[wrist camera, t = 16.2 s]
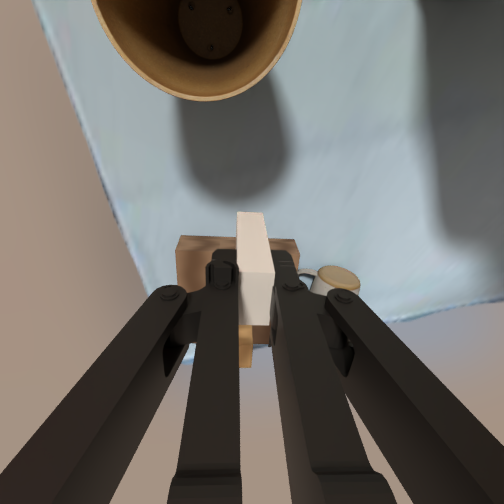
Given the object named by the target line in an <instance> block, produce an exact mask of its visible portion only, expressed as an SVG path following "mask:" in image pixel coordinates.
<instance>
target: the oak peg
mask: <svg viewBox="0 0 504 504" xmlns="http://www.w3.org/2000/svg"><path fill="white" fill-rule="evenodd" d="M252 352H253V337H252V325H239V368H251V363H252Z"/></svg>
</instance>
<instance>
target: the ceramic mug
mask: <svg viewBox="0 0 504 504" xmlns="http://www.w3.org/2000/svg"><path fill="white" fill-rule="evenodd" d="M297 273H298V276H299V275H300V274H304V273H306V274H311V275H314V276H315V278H314V280H313V283H312V286H311V288H310V291H311V292H313V293H316V294H320V295H325V296H327V292H328V291H329V290H331V289H334V288H343V289H347V290H350V291H352V292H354V293H355V294H356V295H359V291H360V281H359V279H358V277H357V276H356V275H355V274H354V273H352V272H350V271H349V270H347V269H344V268H341V267H338V266H324V267H322V268H320V269H319V270H318V271H315V270H313V269H300V270H298V271H297Z"/></svg>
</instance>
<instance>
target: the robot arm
mask: <svg viewBox="0 0 504 504" xmlns="http://www.w3.org/2000/svg"><path fill="white" fill-rule="evenodd" d="M205 276H206V285H205V287H203V288H202V289H200V290H197V291H194V292H189V293H187V292H186V290H185V289H184V288H183V287H181V286H178V285H166V286H162V287H160V288H157V289H156V290H155V291H154V292H153V293H152V294H151V295H150V296H149V297H148V299H147V300H146V301H145V302H144V303H143V305H142V306H141V307H140V308H139V309H138V311H137V312H136V313H135V314H134V315H133V317H132V318H131V319H130V320H129V321H128V322H127V324H126V325H125V326H124V327H123V328H122V330H121V331H120V332H119V333H118V334H117V336H116V337H115V338H114V339H113V340H112V342H111V343H110V344H109V345H108V346H107V348H106V349H105V350H104V351H103V352H102V353H101V355H100V356H99V357H98V358H97V359H96V361H95V362H94V363H93V364H92V365H91V367H90V368H89V369H88V370H87V371H86V373H85V374H84V375H83V376H82V377H81V379H80V380H79V381H78V382H77V383H76V385H75V386H74V387H73V388H72V389H71V390H70V392H69V393H68V394H67V396H65V398H64V399H63V400H62V401H61V403H60V404H59V405H58V406H57V407H56V409H55V410H54V411H53V412H52V413H51V415H50V416H49V417H48V418H47V419H46V420H45V422H44V423H43V424H42V425H41V426H40V428H39V429H38V430H37V431H36V432H35V433H34V435H33V436H32V437H31V438H30V440H29V441H28V442H27V443H26V444H25V446H24V447H23V448H22V449H21V450H20V451H19V453H18V454H17V455H16V456H15V458H14V459H13V460H12V461H11V462H10V463H9V464H8V466H7V467H6V468H5V469H4V470H3V472H2V473H1V474H0V504H109V503H110V501H111V499H112V497H113V495H114V493H115V491H116V489H117V487H118V485H119V483H120V481H121V479H122V477H123V475H124V474H125V472H126V470H127V468H128V466H129V464H130V462H131V460H132V458H133V456H134V454H135V452H136V450H137V448H138V446H139V444H140V442H141V440H142V438H143V436H144V434H145V432H146V430H147V428H148V427H149V424H150V423H151V421H152V419H153V417H154V415H155V412H156V411H157V409H158V407H159V405H160V403H161V401H162V399H163V397H164V395H165V393H166V391H167V389H168V387H169V385H170V383H171V382H172V380H173V378H174V376H175V374H176V371H177V370H178V368H179V366H180V364H181V362H182V360H183V358H184V356H185V354H186V352H187V350H188V348H189V344H190V343H194V342H197V343H196V349H195V356H194V362H193V369H192V375H191V381H190V387H189V395H188V400H187V407H186V413H185V419H184V426H183V433H182V439H181V445H180V452H179V458H178V464H177V469H176V474H175V476H174V477H173V478H172V482H171V485H170V489H169V495H168V500H167V504H242V479H241V473H240V472H241V471H240V403H239V402H240V400H239V398H240V397H239V325H269V321H271V329H270V337H269V345H268V347H271V346H272V353H273V361H274V369H275V377H276V384H277V392H278V399H279V407H280V415H281V422H282V430H283V438H284V446H285V453H286V461H287V469H288V476H289V484H290V491H291V499H292V504H397V502H396V500H395V497H394V495H393V492H392V490H391V488H390V486H389V484H388V482H387V480H386V479H385V478H384V477H383V475H382V474H380V473H378V472H376V471H374V470H373V469H372V467H371V465H370V463H369V461H368V458H367V455H366V452H365V449H364V447H363V444H362V441H361V438H360V435H359V432H358V429H357V427H356V424H355V421H354V418H353V415H352V412H351V409H350V407H349V404H348V401H347V398H346V395H347V397H348V399H349V400H350V402H351V403H352V405H353V407H354V408H355V410H356V412H357V413H358V415H359V416H360V418H361V419H362V421H363V423H364V425H365V426H366V428H367V429H368V431H369V433H370V434H371V436H372V437H373V439H374V441H375V442H376V444H377V445H378V447H379V449H380V450H381V452H382V454H383V455H384V457H385V458H386V460H387V462H388V463H389V465H390V466H391V468H392V470H393V471H394V473H395V475H396V476H397V477H398V479H399V481H400V483H401V484H402V486H403V487H404V489H405V491H406V492H407V494H408V495H409V497H410V498H411V500H412V502H413V504H504V446H503V445H502V444H501V443H500V442H499V441H498V440H497V439H496V438H495V437H494V436H493V435H492V434H491V433H490V432H489V431H488V430H487V429H486V428H485V427H484V426H483V424H481V422H480V421H478V420H477V418H476V417H475V416H474V415H473V414H472V413H471V412H470V411H469V410H468V409H467V408H466V407H465V406H464V405H463V404H462V403H461V402H460V401H459V400H458V399H457V398H456V397H455V396H454V395H453V394H452V392H451V391H450V390H449V389H447V387H446V386H445V385H444V384H443V383H442V382H441V381H440V380H439V379H438V378H437V377H436V376H435V375H434V374H433V373H432V372H431V371H430V370H429V369H428V368H427V367H426V366H425V365H424V363H422V361H420V359H419V358H417V356H416V355H415V354H414V353H413V352H412V351H411V350H410V349H409V348H408V347H407V346H406V345H405V344H404V343H403V342H402V341H401V340H400V339H399V338H398V337H397V336H396V335H395V334H394V333H393V331H392V330H391V329H390V328H389V327H388V326H387V325H386V324H385V323H384V322H383V321H382V320H381V319H380V318H379V317H378V316H377V315H376V314H375V313H374V312H373V311H372V310H371V309H370V308H369V307H368V306H367V305H366V303H365V302H364V301H363V300H362V299H361V298H360V297H359V296H358V295H356V294H355V293H354V292H352V291H350V290H347V289H343V288H334V289H331V290H329V291H328V292H327V296H325V295H320V294H316V293H313V292H311V291H309V290H308V287H307V286H306V284H305V283H304V282H302V281H301V280H300V279H299V276H298V273H297V270H296V267H295V264H294V262H293V258H292V255H291V254H290V253H288V252H287V251H286V250H270V246H269V241H268V236H267V232H266V227H265V222H264V217H263V213H255V212H237V229H236V249H216V250H215V251H214V252H213V253H212V258H211V262H209V263H208V264H207V265H206V267H205ZM345 394H346V395H345Z"/></svg>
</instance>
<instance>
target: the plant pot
mask: <svg viewBox="0 0 504 504" xmlns="http://www.w3.org/2000/svg"><path fill="white" fill-rule="evenodd" d="M91 2H92V5H93V8H94V10H95V12H96V15H97V17H98V20H99V22H100V24H101V26H102V28H103V30H104V32H105V33H106V35H107V37H108V38H109V40H110V42H111V43H112V45H113V46H114V48H115V49H116V50H117V52H118V53H119V54H120V56H121V57H122V58H123V59H124V61H125V62H126V63H127V64H128V65H129V66H130V67H131V68H132V69H133V70H134V71H135V72H136V73H137V74H138V75H140V76H141V77H142V78H144V79H145V80H146V81H147V82H149V83H150V84H152V85H153V86H155V87H157V88H159V89H160V90H162V91H164V92H166V93H168V94H171V95H173V96H176V97H179V98H183V99H187V100H192V101H217V100H222V99H227V98H230V97H233V96H236V95H238V94H240V93H242V92H244V91H246V90H248V89H249V88H251V87H252V86H254V85H255V84H256V83H258V82H259V81H260V80H261V79H262V78H263V77H264V76H265V75H266V74H267V73H268V72H269V71H270V70H271V69H272V68H273V67H274V65H275V64H276V63H277V61H278V60H279V59H280V57H281V55H282V54H283V52H284V51H285V49H286V47H287V45H288V43H289V41H290V39H291V36H292V34H293V32H294V29H295V26H296V23H297V20H298V16H299V13H300V8H301V3H302V0H91ZM189 5H191V6H192V7H193V10H192V9H190V7H189ZM229 7H231V10H230V11H229V10H228V8H229ZM211 46H213V50H211Z"/></svg>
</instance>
